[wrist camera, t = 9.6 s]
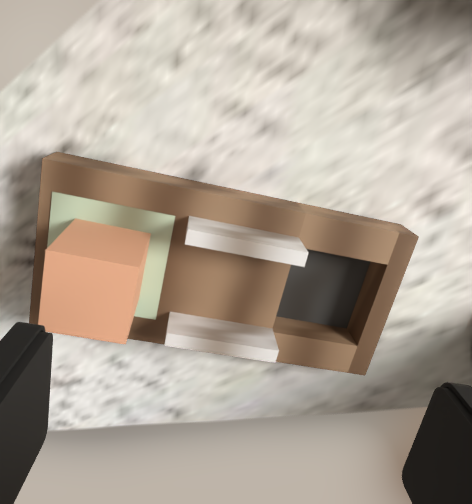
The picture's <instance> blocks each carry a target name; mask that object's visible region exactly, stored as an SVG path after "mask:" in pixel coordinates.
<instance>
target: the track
mask: <svg viewBox="0 0 472 504" xmlns="http://www.w3.org/2000/svg"><path fill="white" fill-rule="evenodd" d="M75 218H76V219H81V220H86V221H91V222H96V223H101V224H106V225H111V226H116V227H121V228H126V229H131V230H136V231H141V232H146V233H151V236H150V242H149V247H148V253H147V258H146V264H145V269H144V275H143V280H142V285H141V291H140V296H139V301H138V304H137V307H136V311H135V314H134V318H133V321H132V324H131V328H130V331H129V335H128V338H127V339H134V340H140V341H147V342H153V343H160V344H165V345H164V346H169V347H176V348H182V349H189V350H195V351H202V352H208V353H215V354H221V355H228V356H234V357H241V358H247V359H253V360H260V361H266V362H273V363H275V362H282V363H289V364H295V365H301V366H308V367H314V368H321V369H327V370H334V371H340V372H347V373H353V374H359V375H365V374H366V372H367V369H368V367H369V364H370V361H371V359H372V356H373V354H374V351H375V349H376V346H377V343H378V341H379V338H380V336H381V333H382V330H383V328H384V325H385V323H386V320H387V318H388V315H389V312H390V310H391V307H392V305H393V302H394V299H395V297H396V294H397V292H398V289H399V287H400V284H401V281H402V279H403V276H404V274H405V271H406V268H407V266H408V263H409V261H410V258H411V256H412V253H413V250H414V248H415V245H416V243H417V240H418V236H417V235H415V234H414V233H412V232H411V231H410V230H408V229H407V228H405V227H404V226H402V225H401V224H396V223H391V222H387V221H382V220H377V219H372V218H368V217H363V216H358V215H353V214H349V213H344V212H339V211H335V210H330V209H325V208H320V207H316V206H311V205H306V204H301V203H297V202H292V201H287V200H283V199H278V198H273V197H268V196H264V195H259V194H254V193H249V192H245V191H240V190H235V189H231V188H226V187H221V186H216V185H212V184H207V183H202V182H197V181H193V180H188V179H183V178H179V177H174V176H169V175H164V174H160V173H155V172H150V171H145V170H141V169H136V168H131V167H127V166H122V165H117V164H112V163H108V162H103V161H98V160H93V159H89V158H84V157H79V156H75V155H70V154H65V153H60V152H55V153H53V154H51V155H49V156H47V157H44V158H42V169H41V181H40V194H39V206H38V218H37V231H36V243H35V256H34V268H33V280H32V293H31V305H30V317H29V323H31V324H37V325H38V320H39V310H40V300H41V290H42V280H43V271H44V261H45V251H46V249H47V248H48V247H49V246H50V245H51V244H52V243H53V242H54V240H55V239H56V238H57V237H58V236H59V235H60V234H61V233H62V232H63V231H64V230H65V229H66V228H67V227H68V226H69V225H70V224H71V223H72V222H73V221H74V219H75Z"/></svg>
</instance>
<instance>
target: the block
mask: <svg viewBox="0 0 472 504" xmlns="http://www.w3.org/2000/svg"><path fill="white" fill-rule="evenodd" d="M150 236H151V233H146V232H141V231H136V230H131V229H126V228H121V227H116V226H111V225H106V224H101V223H96V222H91V221H86V220H81V219H76V218H75V219H74V221H73V222H72V223H71V224H70V225H69V226H68V227H67V228H66V229H65V230H64V231H63V232H62V233H61V234H60V235H59V236H58V237H57V238H56V239H55V240H54V242H53V243H52V244H51V245H50V246H49V247H48V248H47V249H46V251H45V261H44V271H43V280H42V290H41V300H40V310H39V320H38V325H44V327H45V330H46V332H52V333H58V334H65V335H71V336H77V337H83V338H89V339H95V340H102V341H108V342H114V343H120V344H126V341H127V338H128V335H129V331H130V328H131V324H132V321H133V318H134V314H135V311H136V307H137V304H138V301H139V296H140V291H141V285H142V280H143V275H144V269H145V264H146V258H147V253H148V247H149V242H150Z"/></svg>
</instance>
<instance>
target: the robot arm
mask: <svg viewBox="0 0 472 504" xmlns="http://www.w3.org/2000/svg"><path fill="white" fill-rule="evenodd" d="M52 345H53V335H52V333H48V332H46V330H45V327H44V325H37V324H30V323H23V322H17V323H16V324H15V325H14V326H13V327H12V328H11V329H10V330H9V332H8V333H7V334H6V335H5V336H4V337H3V338H2V339H1V341H0V504H14V501H15V499H16V498H17V496H18V493H19V491H20V489H21V487H22V485H23V483H24V481H25V479H26V477H27V475H28V473H29V471H30V469H31V467H32V465H33V463H34V461H35V459H36V457H37V455H38V453H39V451H40V449H41V447H42V445H43V443H44V440H45V437H46V434H47V428H48V414H49V396H50V379H51V362H52ZM402 480H403V484H404V487H405V489H406V491H407V493H408V495H409V497H410V499H411V501H412V504H472V387H471V386H468V385H462V384H455V383H448V382H447V383H444V384H443V385H442V386H441V387H438V388H436V389H435V391H434V393H433V395H432V398H431V400H430V403H429V405H428V408H427V410H426V413H425V415H424V418H423V420H422V423H421V425H420V428H419V430H418V433H417V435H416V438H415V440H414V443H413V445H412V448H411V450H410V452H409V456H408V458H407V460H406V462H405V465H404V468H403V471H402Z"/></svg>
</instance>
